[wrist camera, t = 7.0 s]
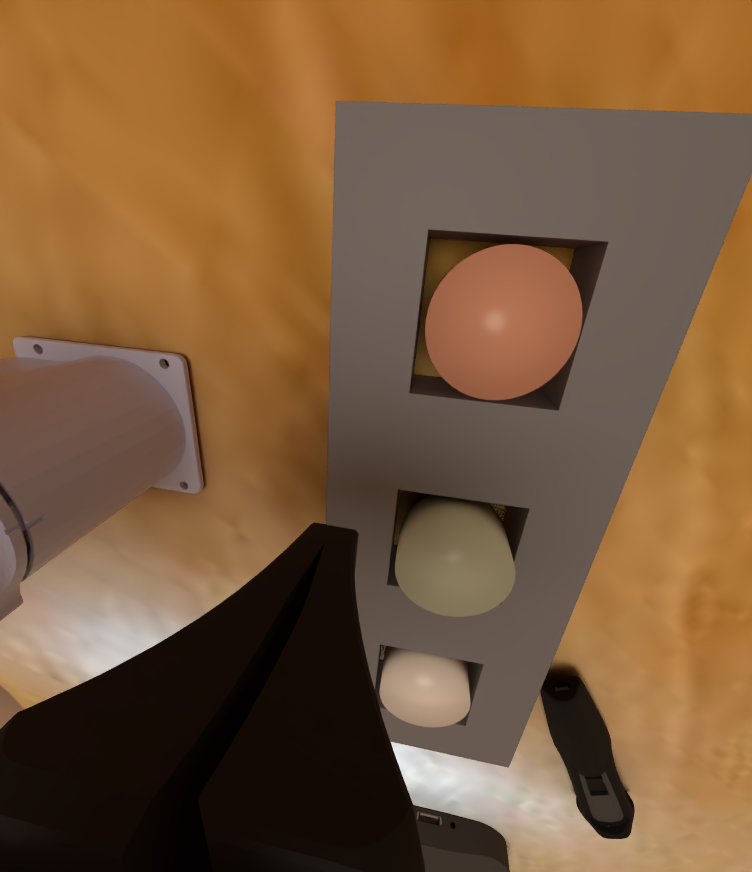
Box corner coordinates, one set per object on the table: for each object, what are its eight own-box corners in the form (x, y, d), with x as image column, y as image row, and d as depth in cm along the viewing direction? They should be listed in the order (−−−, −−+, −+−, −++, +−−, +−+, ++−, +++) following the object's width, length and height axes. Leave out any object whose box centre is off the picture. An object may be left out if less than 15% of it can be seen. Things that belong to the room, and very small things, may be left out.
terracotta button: (419, 375, 16) (416, 391, 14) (436, 244, 14) (435, 238, 11) (540, 389, 15) (557, 408, 13) (576, 254, 13) (604, 250, 11)
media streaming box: (482, 892, 37) (485, 941, 35) (342, 856, 39) (335, 899, 36) (515, 823, 31) (522, 875, 29) (348, 784, 33) (340, 829, 30)
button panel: (332, 680, 27) (321, 726, 24) (355, 135, 14) (335, 101, 11) (501, 715, 26) (508, 767, 23) (701, 149, 12) (775, 114, 10)
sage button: (395, 568, 19) (389, 605, 17) (405, 485, 17) (401, 516, 15) (493, 584, 18) (501, 626, 16) (516, 501, 16) (528, 536, 14)
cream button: (381, 676, 24) (376, 716, 22) (388, 622, 22) (383, 660, 20) (459, 692, 23) (461, 734, 21) (474, 638, 21) (478, 679, 19)
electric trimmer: (584, 648, 23) (605, 701, 20) (629, 794, 27) (651, 855, 24) (521, 656, 24) (532, 707, 21) (575, 795, 28) (590, 853, 26)
